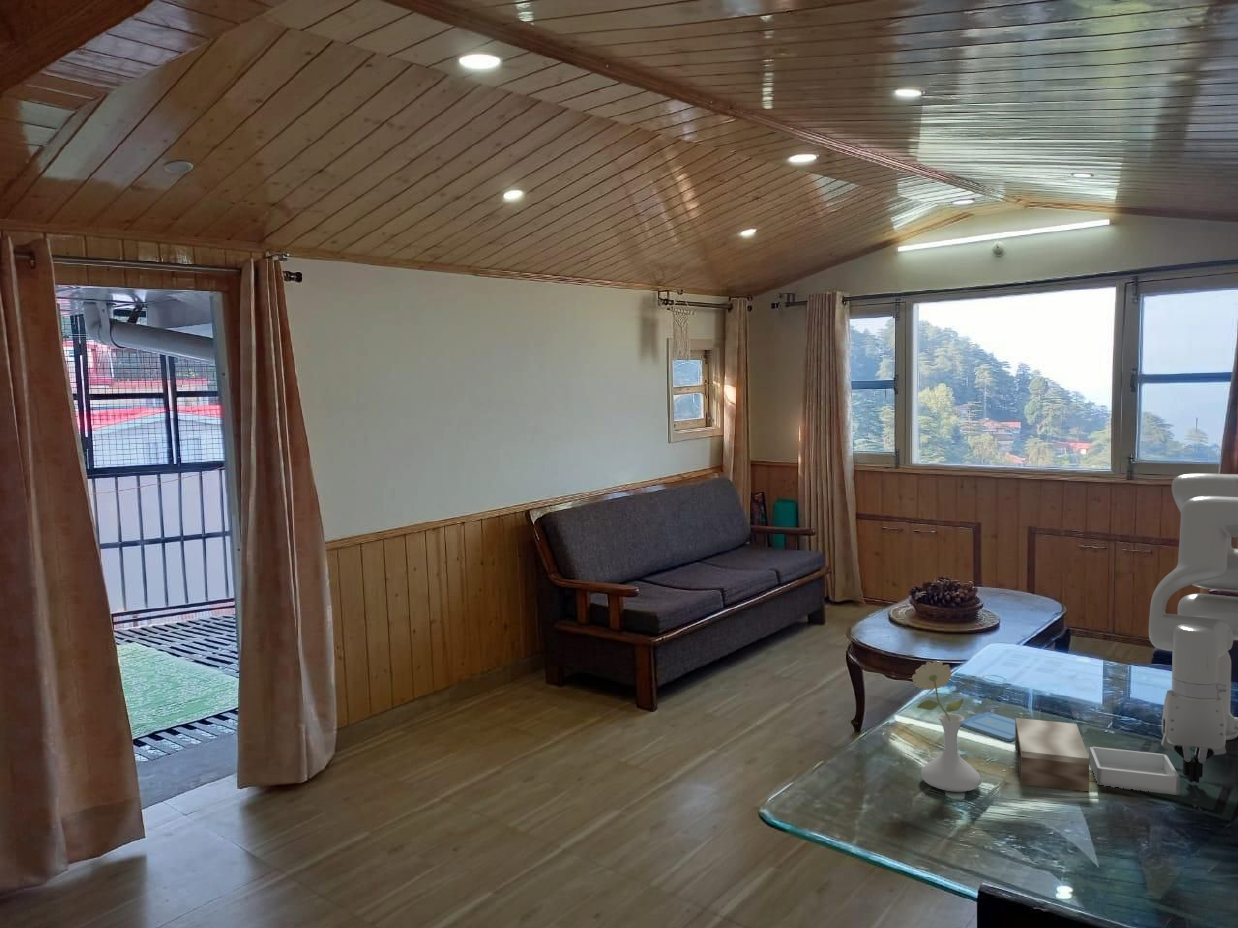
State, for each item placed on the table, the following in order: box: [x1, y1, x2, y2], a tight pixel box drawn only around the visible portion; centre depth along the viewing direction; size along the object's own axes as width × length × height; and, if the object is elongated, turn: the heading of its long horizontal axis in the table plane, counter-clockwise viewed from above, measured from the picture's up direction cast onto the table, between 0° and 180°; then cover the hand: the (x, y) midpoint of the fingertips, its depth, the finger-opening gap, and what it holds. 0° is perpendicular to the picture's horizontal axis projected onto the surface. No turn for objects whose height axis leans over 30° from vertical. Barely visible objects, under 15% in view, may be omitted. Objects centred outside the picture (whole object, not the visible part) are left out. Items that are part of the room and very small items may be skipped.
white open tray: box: [1088, 745, 1181, 796], centre depth 177 cm, size 14×12×4 cm
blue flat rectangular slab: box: [960, 711, 1015, 742], centre depth 206 cm, size 14×12×1 cm
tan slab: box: [1014, 717, 1090, 793], centre depth 182 cm, size 12×20×7 cm, turn 159°
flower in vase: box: [911, 660, 982, 793], centre depth 175 cm, size 13×11×25 cm
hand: (1192, 779), depth 173 cm, fingers closed
